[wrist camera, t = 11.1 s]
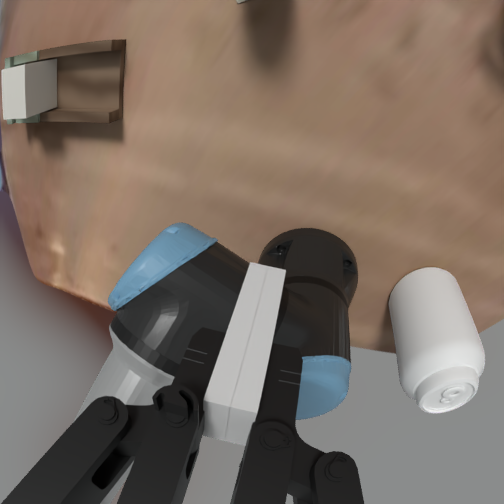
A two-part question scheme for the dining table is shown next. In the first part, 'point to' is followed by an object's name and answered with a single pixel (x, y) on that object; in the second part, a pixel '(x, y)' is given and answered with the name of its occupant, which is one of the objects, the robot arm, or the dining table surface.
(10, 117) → the cream block
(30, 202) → the dining table surface
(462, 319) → the can
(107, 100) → the walnut chute
